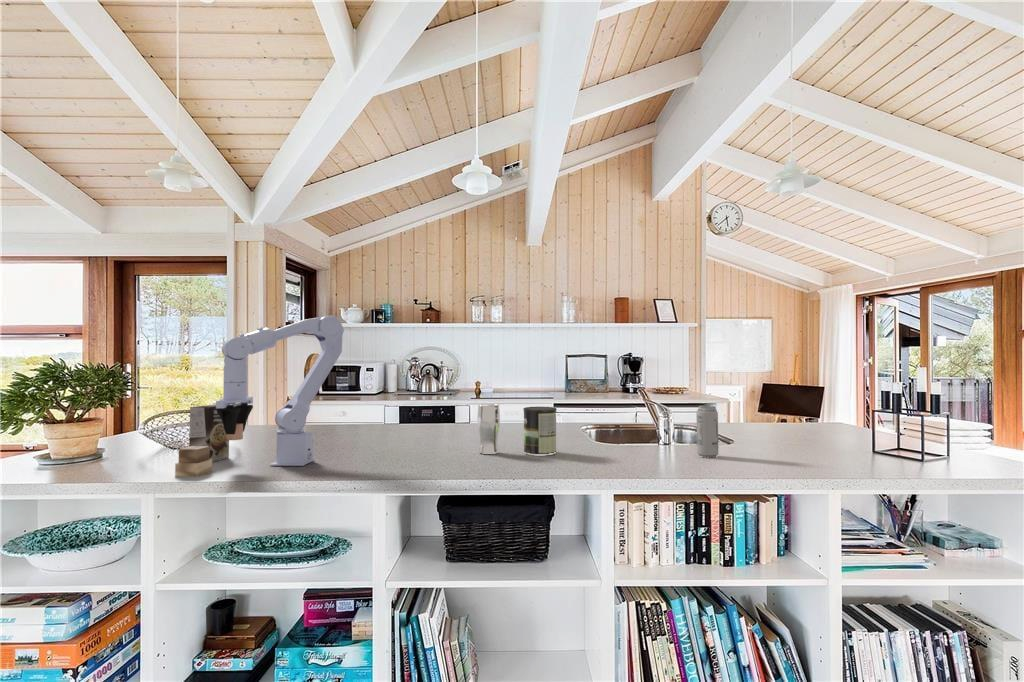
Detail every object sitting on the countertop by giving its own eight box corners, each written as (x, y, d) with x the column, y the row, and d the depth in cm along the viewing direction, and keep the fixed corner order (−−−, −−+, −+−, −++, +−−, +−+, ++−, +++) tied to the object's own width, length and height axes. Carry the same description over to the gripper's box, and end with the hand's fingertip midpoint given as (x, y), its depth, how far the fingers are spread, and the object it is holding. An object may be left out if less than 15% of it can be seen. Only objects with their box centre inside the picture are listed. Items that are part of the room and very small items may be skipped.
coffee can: (521, 456, 165) (521, 409, 166) (525, 450, 175) (525, 406, 176) (555, 456, 164) (555, 409, 164) (557, 450, 174) (557, 406, 174)
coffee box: (207, 463, 155) (208, 406, 156) (187, 463, 156) (188, 406, 157) (230, 457, 164) (230, 404, 164) (211, 457, 165) (212, 403, 166)
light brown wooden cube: (245, 438, 149) (246, 423, 149) (237, 440, 145) (238, 425, 145) (231, 438, 149) (231, 423, 149) (223, 440, 145) (223, 425, 145)
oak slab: (212, 472, 145) (212, 459, 145) (197, 477, 139) (198, 463, 139) (190, 472, 145) (190, 458, 145) (175, 477, 139) (175, 463, 139)
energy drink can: (718, 459, 159) (717, 407, 160) (696, 457, 161) (695, 406, 162) (718, 455, 165) (718, 405, 165) (697, 454, 167) (697, 405, 167)
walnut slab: (209, 459, 144) (209, 446, 144) (196, 463, 139) (196, 449, 140) (192, 459, 145) (192, 446, 145) (178, 462, 140) (178, 449, 140)
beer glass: (499, 455, 167) (499, 406, 167) (476, 455, 167) (476, 406, 167) (500, 451, 174) (500, 404, 174) (478, 451, 174) (478, 404, 174)
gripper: (235, 381, 155) (235, 429, 154) (204, 383, 140) (204, 436, 140) (260, 381, 154) (259, 429, 154) (231, 383, 140) (230, 437, 139)
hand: (235, 433), depth 147 cm, fingers closed on light brown wooden cube, 4 cm apart
